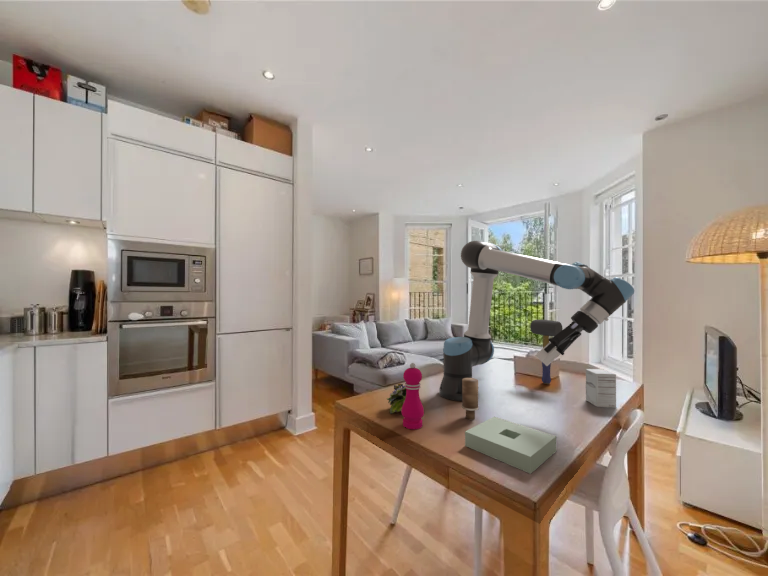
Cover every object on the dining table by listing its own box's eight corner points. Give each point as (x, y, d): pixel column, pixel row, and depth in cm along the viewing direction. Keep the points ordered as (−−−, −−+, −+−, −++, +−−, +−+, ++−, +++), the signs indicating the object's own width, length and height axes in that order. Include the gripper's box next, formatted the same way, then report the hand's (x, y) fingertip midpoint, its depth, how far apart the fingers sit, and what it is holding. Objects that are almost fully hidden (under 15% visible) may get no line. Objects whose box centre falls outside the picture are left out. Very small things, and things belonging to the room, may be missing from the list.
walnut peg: (458, 417, 107) (458, 379, 107) (467, 413, 111) (467, 376, 111) (472, 422, 103) (472, 383, 103) (481, 418, 107) (481, 380, 107)
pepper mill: (417, 432, 96) (417, 366, 96) (397, 426, 100) (397, 363, 100) (427, 423, 102) (427, 362, 103) (407, 419, 106) (407, 359, 106)
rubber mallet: (564, 385, 144) (563, 320, 145) (555, 388, 140) (555, 321, 141) (538, 379, 155) (537, 318, 155) (529, 381, 151) (529, 319, 151)
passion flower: (398, 421, 117) (406, 390, 124) (420, 424, 110) (428, 391, 116) (377, 410, 112) (387, 378, 118) (399, 412, 104) (409, 378, 110)
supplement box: (585, 400, 125) (584, 368, 125) (604, 401, 124) (604, 369, 124) (596, 407, 118) (595, 373, 118) (617, 407, 117) (616, 373, 117)
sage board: (465, 445, 88) (465, 431, 88) (494, 429, 98) (494, 416, 98) (530, 473, 74) (530, 456, 74) (556, 451, 85) (556, 436, 85)
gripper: (599, 316, 93) (545, 365, 96) (598, 332, 112) (554, 373, 116) (577, 300, 97) (526, 347, 101) (580, 318, 117) (537, 357, 120)
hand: (541, 361), depth 108 cm, fingers open, 13 cm apart
